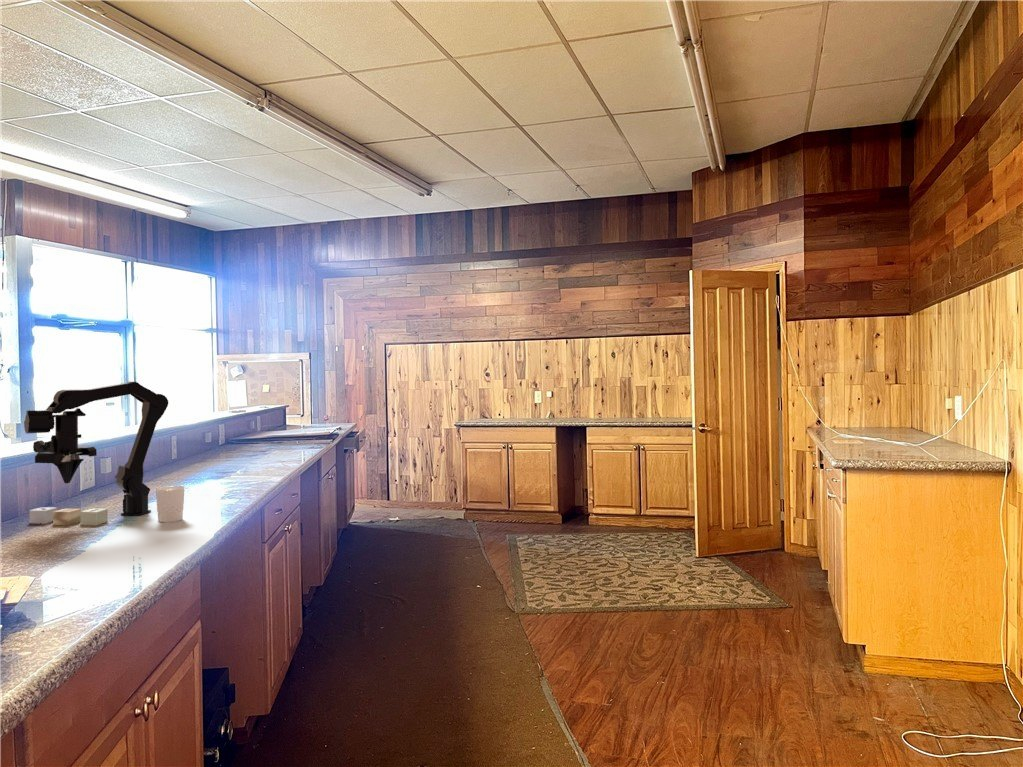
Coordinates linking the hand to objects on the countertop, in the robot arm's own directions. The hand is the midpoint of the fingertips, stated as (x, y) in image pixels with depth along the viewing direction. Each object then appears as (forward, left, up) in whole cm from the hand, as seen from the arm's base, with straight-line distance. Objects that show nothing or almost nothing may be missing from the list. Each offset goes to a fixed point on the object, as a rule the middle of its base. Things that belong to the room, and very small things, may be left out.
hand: (67, 483), depth 210 cm
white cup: (-28, -8, -12) cm, 32 cm away
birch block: (0, 0, -12) cm, 12 cm away
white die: (+8, -1, -12) cm, 15 cm away
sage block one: (-8, -1, -12) cm, 15 cm away
